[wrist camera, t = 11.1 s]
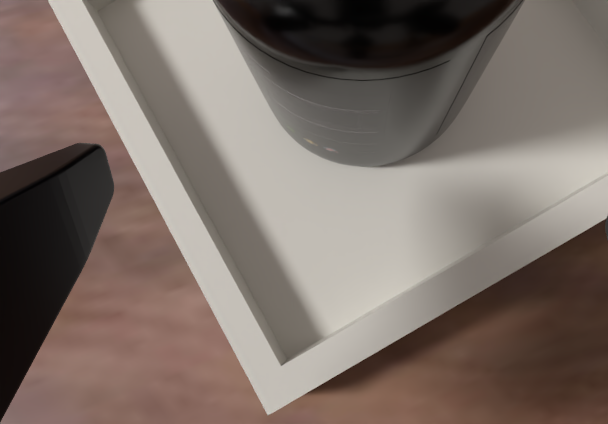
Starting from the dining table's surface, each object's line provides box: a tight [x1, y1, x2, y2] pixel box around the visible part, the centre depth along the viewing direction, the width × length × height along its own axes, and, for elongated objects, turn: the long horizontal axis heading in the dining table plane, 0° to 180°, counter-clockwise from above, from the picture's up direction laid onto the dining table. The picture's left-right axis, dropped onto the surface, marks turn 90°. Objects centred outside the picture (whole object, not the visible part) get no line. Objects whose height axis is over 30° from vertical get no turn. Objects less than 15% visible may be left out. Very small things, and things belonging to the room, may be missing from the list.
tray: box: [48, 0, 608, 415], centre depth 17 cm, size 16×16×2 cm
